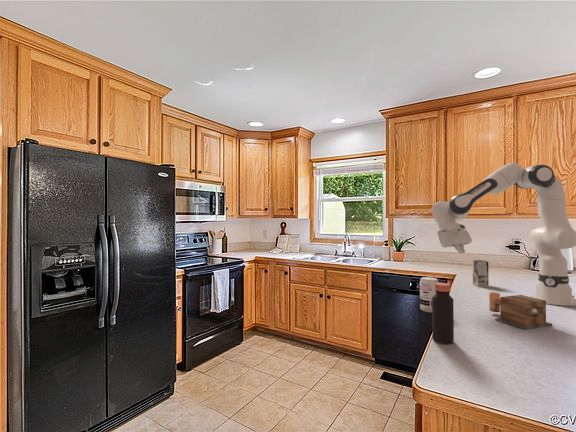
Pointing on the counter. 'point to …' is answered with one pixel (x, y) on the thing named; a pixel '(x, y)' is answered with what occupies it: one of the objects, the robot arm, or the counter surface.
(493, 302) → the shaft
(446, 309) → the bottle
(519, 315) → the block
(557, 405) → the counter surface
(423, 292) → the supplement can
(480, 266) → the coffee box
